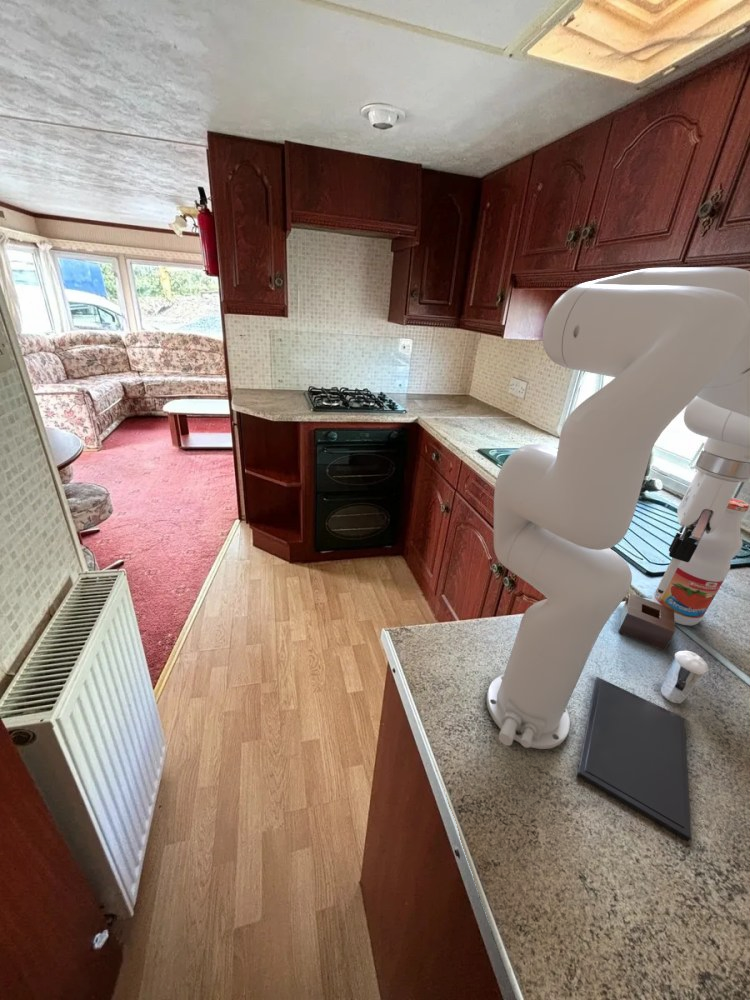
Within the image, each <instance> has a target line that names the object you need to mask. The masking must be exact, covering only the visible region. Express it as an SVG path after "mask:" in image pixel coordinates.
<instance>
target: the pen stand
mask: <svg viewBox="0 0 750 1000" xmlns="http://www.w3.org/2000/svg"><path fill="white" fill-rule="evenodd" d="M675 623H676V622H675V621H674V609H671V608H668V607H666V606H663V605H660V604H658V603H655V602H652V600H649V599H647V598H644V597H641V596H639V595H636V594H633V593H629V594H628V596H627V598H626V600H625V602H624V605H623V606H622V609H621V613H620V618H619V624H618V633H620V634H623V635H624V636H627V637H629V638H632V639H635V640H637V641H640V642H641V643H645V644H646V645H649V646H651V647H653V648H656V649H658V650H661V651H663V652H664V651H666V649H667V648H668V646H669V645H670V642H671V640H672V638H673V637H674V635H675V633H676V627H675V626H676V624H675Z"/></svg>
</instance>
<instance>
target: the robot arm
mask: <svg viewBox="0 0 750 1000" xmlns="http://www.w3.org/2000/svg"><path fill="white" fill-rule="evenodd" d="M542 345H543V349H544V352H545V354H546V355H547V357H548V358H549V360H550V361H552V362H553V363H554V364H555V365H557V366H560V367H562V368H565V369H570V370H574V371H581V372H585V373H590V374H596V375H601V376H606V377H612V378H613V379H612V380H610V381H609V382H608V383H607V384H605V385H604V386H603V387H601V388H600V389H599V390H597V391H596V392H594V393H593V394H591V395H590V396H588V397H587V398H585V400H583V401H582V402H581V403H579V405H578V406H577V407H575V409H574V410H572V412H571V413H569V414H568V416H567V417H566V419H565V420H564V422H563V425H562V427H561V431H560V433H559V440H558V447H557V448H555V447H551V446H549V445H545V444H539V443H530V444H525V445H522V446H520V447H518V448H516V449H515V450H514V451H512V453H510V454H509V455H508V457H507V458H506V459H505V461H504V462H503V464H502V466H501V468H500V469H499V472H498V474H497V477H496V481H495V485H494V491H493V492H494V493H493V551H494V554H495V557H496V559H497V560H498V562H499V563H500V564H501V565H502V566H503V567H504V568H505V569H507V570H508V571H510V572H511V573H513V574H514V575H515V576H516V577H519V578H520V579H521V580H522V581H524V582H526V583H527V584H528V585H530V586H532V587H533V588H534V589H535V590H537V591H538V592H539V593H541V594H542V595H543V596H544V597H545V599H542V600H539V601H536V602H535V603H533V604H532V605H530V606H529V607H528V608H527V609H526V610H525V612H524V613H523V614H522V615H523V616H522V617H521V620H520V624H519V627H518V630H517V633H516V636H515V639H514V643H513V645H512V649H511V652H510V654H509V658H508V660H507V664H506V667H505V670H504V672H503V674H501V675H498V676H497V677H496V678H494V679H493V680H492V681H491V682H490V684H489V686H488V689H487V691H486V698H485V699H486V706H487V710H488V713H489V714H490V716H491V718H492V720H493V721H494V723H495V724H496V726H497V727H498V728H499V729H500V731H499V734H498V740H499V741H500V743H502V745H505V746H506V747H507V746H511V745H513V742H514V741H515V742H517V743H519V744H520V745H521V746H522V747H524V748H525V749H529V748H533V749H538V750H547V749H553V748H556V747H558V746H560V745H561V744H562V743H564V742H565V740H566V738H567V737H568V735H569V732H570V728H571V718H570V714H569V712H568V708H567V707H568V704H569V702H570V700H571V697H572V695H573V693H574V691H575V688H576V686H577V684H578V682H579V679H580V677H581V675H582V673H583V671H584V668H585V666H586V663H587V662H588V659H589V657H590V655H591V653H592V650H593V648H594V646H595V645H596V642H597V640H598V638H599V637H600V634H601V633H602V630H603V628H604V627H605V626H606V624H607V622H608V621H609V619H610V618H611V617H612V615H613V614H614V612H615V611H616V609H617V608H618V607H619V606H620V605H621V603H622V602H623V600H624V599H625V598H626V596H627V595H628V592H629V590H630V587H631V586H632V581H633V574H632V571H631V568H630V566H629V565H628V563H627V561H626V560H625V559H624V558H623V557H622V556H621V555H620V554H618V553H617V552H616V551H614V550H613V549H611V548H613V547H615V546H617V544H619V543H620V542H621V541H623V539H624V538H625V536H626V535H627V533H628V530H629V528H630V526H631V524H632V521H633V518H634V515H635V512H636V508H637V504H638V501H639V497H640V494H641V491H642V487H643V483H644V479H645V475H646V471H647V467H648V463H649V460H650V457H651V454H652V451H653V449H654V446H655V444H656V442H657V441H658V439H659V438H660V436H661V435H662V433H663V432H664V431H665V429H666V428H667V427H668V426H669V425H670V424H671V422H672V421H674V420H675V418H676V417H678V415H679V414H680V413H682V411H683V410H684V413H683V423H684V425H685V426H686V429H688V431H690V432H691V433H694V434H696V435H699V436H701V437H706V441H705V443H704V444H703V447H702V449H701V451H700V453H699V456H698V458H697V460H696V462H695V464H694V469H695V470H697V472H696V473H695V474H694V477H693V478H692V480H691V482H690V484H689V486H688V488H687V489H686V492H685V494H683V498H682V499H681V501H680V502H679V505H678V507H677V511H676V515H677V522H678V524H679V526H680V527H679V529H678V532H676V534H675V535H674V538H673V539H672V542H671V544H670V546H669V548H668V556H669V557H670V558H671V559H672V558H675V559H678V560H681V561H684V562H689V561H690V559H691V557H692V555H693V554H694V552H695V550H696V548H697V546H698V543H699V541H700V540H701V538H702V536H703V534H704V532H705V530H706V533H707V534H709V533H712V532H713V531H714V530H715V528H716V527H717V525H718V523H719V522H720V520H721V518H722V516H723V514H724V512H725V510H726V508H727V506H728V504H729V502H730V500H731V498H732V497H733V496H734V495H735V492H736V489H737V487H738V485H739V483H746V482H749V481H750V271H749V270H747V269H744V268H739V267H738V268H737V267H726V266H693V267H692V266H689V267H687V266H686V267H685V266H683V267H679V266H678V267H651V268H641V269H638V270H633V271H629V272H624V273H620V274H615V275H612V276H608V277H603V278H598V279H595V280H590V281H585V282H582V283H579V284H576V285H574V286H572V287H571V288H568V289H567V290H566V291H565V292H564V293H562V294H561V295H560V296H559V297H558V298H557V299H556V301H555V302H554V304H553V305H552V306H551V308H550V309H549V311H548V313H547V315H546V318H545V321H544V323H543V328H542ZM688 530H692V531H688Z"/></svg>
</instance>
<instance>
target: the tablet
mask: <svg viewBox="0 0 750 1000" xmlns="http://www.w3.org/2000/svg"><path fill="white" fill-rule="evenodd" d="M685 719H686V718H685V717H683V716H681V715H679V714H677V713H675V712H672V711H670V710H669V709H666V708H664V707H662V706H661V705H657V704H655V703H653V702H651V701H649V700H647V699H645V698H643V697H641V696H638V695H636V694H635V693H632V692H630V691H628V690H626V689H625V688H622V687H620V686H618V685H615V684H614V683H611V682H609V681H608V680H605V679H603V678H601V677H598V676H596V678H595V679H594V683H593V689H592V694H591V698H590V704H589V710H588V714H587V720H586V725H585V731H584V734H583V740H582V746H581V750H580V755H579V756H580V757H579V761H578V766H577V771H576V777H577V778H578V779H581V780H582V781H584V782H586V783H587V784H589V785H590V786H592V787H594V788H596V789H598V790H599V791H601V792H603V793H604V794H606V795H607V796H609V797H611V798H612V799H614V800H616V801H618V802H619V803H621V804H623V805H624V806H625V807H628V808H629V809H631V810H632V811H635V812H636V813H637V814H639V815H641V816H643V817H644V818H647V819H648V820H649V821H651V822H653V823H654V824H656V825H658V826H660V827H662V828H663V829H665V830H667V831H668V832H670V833H672V834H673V835H675V836H677V837H679V838H680V839H682V840H684V841H685V842H687V843H688V842H690V841H691V839H692V831H691V828H692V826H691V812H690V811H691V810H690V795H689V794H690V791H689V776H688V775H689V774H688V759H687V758H688V757H687V756H688V755H687V738H686V737H687V736H686V720H685Z"/></svg>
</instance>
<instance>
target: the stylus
mask: <svg viewBox="0 0 750 1000" xmlns="http://www.w3.org/2000/svg"><path fill="white" fill-rule="evenodd" d="M688 531H692V530H688ZM680 562H681V560H678V559H675V558H672V557H671V560H670V562H669V564H668V566H667V568H666V569H665V572H664V574H663V576H662V578H661V580H660V581H659V583H658V586H657V588H658V592H659V593H661V594H662V593H663V592H664V591H666V589H667V587H668V585H669V583H670V582H671V580H672V578H673V576H674V574H675V572H676V570H677V568H678V566H679V564H680Z"/></svg>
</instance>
